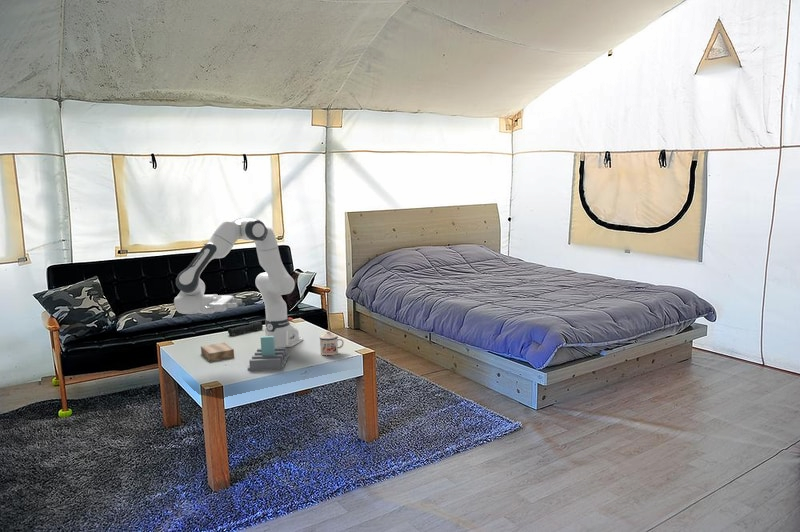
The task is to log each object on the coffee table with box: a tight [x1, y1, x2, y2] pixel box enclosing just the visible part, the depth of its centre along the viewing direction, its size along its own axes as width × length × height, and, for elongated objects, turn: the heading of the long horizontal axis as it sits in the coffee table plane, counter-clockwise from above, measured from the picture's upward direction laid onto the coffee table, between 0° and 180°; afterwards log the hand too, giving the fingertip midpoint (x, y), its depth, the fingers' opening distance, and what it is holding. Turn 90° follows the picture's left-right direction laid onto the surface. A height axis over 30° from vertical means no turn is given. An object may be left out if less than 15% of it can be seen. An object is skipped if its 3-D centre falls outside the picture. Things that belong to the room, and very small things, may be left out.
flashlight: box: [227, 321, 264, 337], centre depth 341 cm, size 5×21×5 cm, turn 137°
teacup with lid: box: [319, 330, 345, 357], centre depth 294 cm, size 12×9×12 cm
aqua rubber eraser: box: [260, 335, 275, 355], centre depth 280 cm, size 2×6×12 cm, turn 93°
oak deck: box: [200, 342, 235, 362], centre depth 296 cm, size 12×16×4 cm
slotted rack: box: [247, 347, 289, 371], centre depth 281 cm, size 20×16×5 cm
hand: (239, 303), depth 276 cm, fingers open, 8 cm apart
